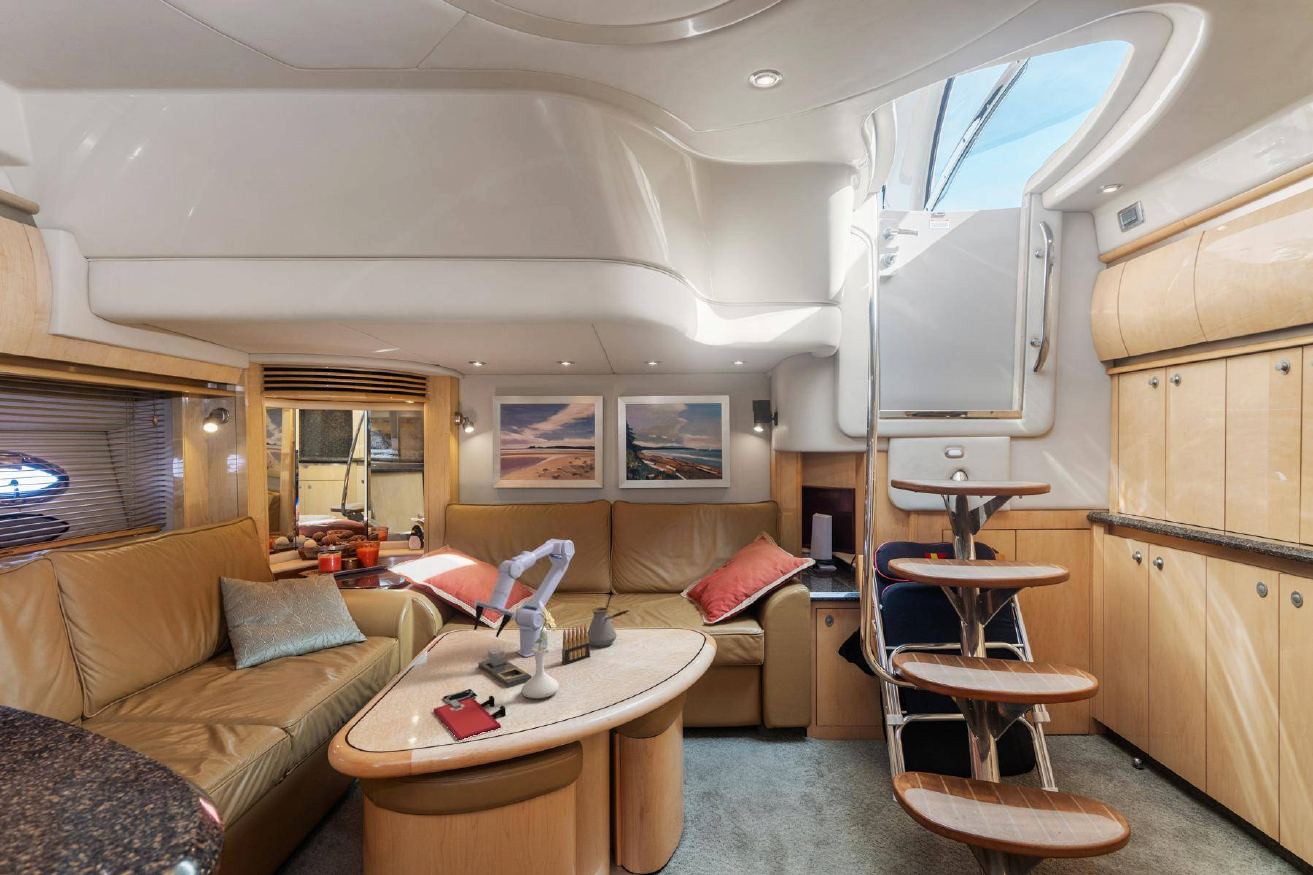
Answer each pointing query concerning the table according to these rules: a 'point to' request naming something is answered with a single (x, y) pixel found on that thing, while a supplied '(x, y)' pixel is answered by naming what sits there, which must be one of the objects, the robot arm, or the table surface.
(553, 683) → the flower in vase
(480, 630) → the table surface
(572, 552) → the robot arm
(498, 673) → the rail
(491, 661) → the grey rectangular block
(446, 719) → the red board with handle
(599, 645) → the coffee pot
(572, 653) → the ammunition clip
